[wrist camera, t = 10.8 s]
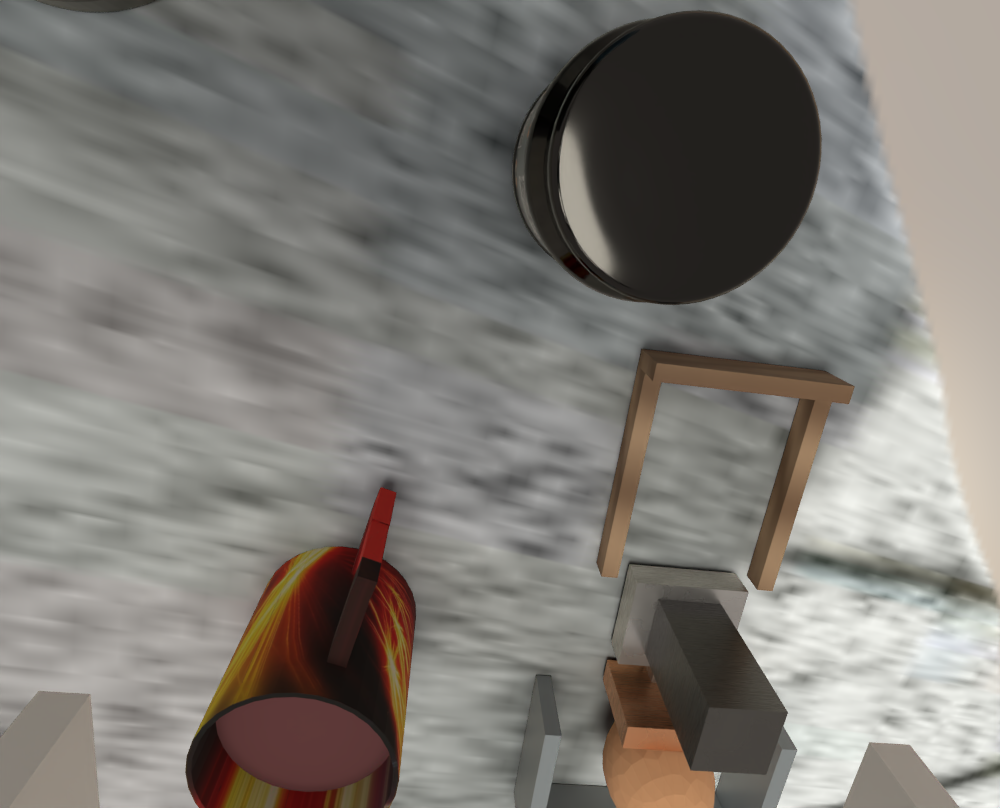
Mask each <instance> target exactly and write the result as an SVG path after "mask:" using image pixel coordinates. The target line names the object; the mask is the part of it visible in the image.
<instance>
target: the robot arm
mask: <svg viewBox="0 0 1000 808" xmlns="http://www.w3.org/2000/svg"><path fill="white" fill-rule="evenodd" d="M36 1H39V2H42V3H44V4H48V5H51V6H55V7H58V8H63V9H68V10H73V11H82V12H114V11H121V10H127V9H131V8H135V7H139V6H142V5H145V4H148V3H150V2H152V1H155V0H36ZM0 808H100V807H99V794H98V782H97V770H96V758H95V745H94V733H93V721H92V708H91V696H90V694H79V693H62V692H46V691H38V693H37V694H36V695H35V696H34V697H33V699H32V700H31V701H30V702H29V703H28V705H27V706H26V707H25V708H24V710H23V711H22V712H21V713H20V714H19V716H18V717H17V718H16V719H15V720H14V722H13V723H12V724H11V725H10V727H9V728H8V729H7V730H6V731H5V733H4V734H3V735H2V736H1V737H0ZM843 808H959V806H958V805H957V804H956V803H955V801H954V800H953V799H952V798H951V796H950V795H949V794H948V792H947V791H946V790H945V789H944V787H943V786H942V785H941V784H940V782H939V781H938V780H937V779H936V777H935V776H934V775H933V774H932V772H931V771H930V770H929V769H928V767H927V766H926V765H925V764H924V762H923V761H922V760H921V759H920V757H919V756H918V755H917V754H916V752H915V751H914V750H913V748H912V747H911V746H910V745H903V744H887V743H871V742H869V745H868V747H867V750H866V752H865V755H864V757H863V760H862V762H861V765H860V767H859V770H858V772H857V775H856V777H855V779H854V782H853V784H852V787H851V789H850V792H849V794H848V797H847V799H846V802H845V804H844V807H843Z"/></svg>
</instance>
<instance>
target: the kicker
mask: <svg viewBox="0 0 1000 808" xmlns="http://www.w3.org/2000/svg"><path fill="white" fill-rule="evenodd" d="M747 595H748V591H747V589H746V588H745V586H744V585H743V584H742V582H741V581H740V579H739V578H738V576H737V575H736V574H735V573H725V572H713V571H702V570H690V569H679V568H667V567H656V566H644V565H633V564H629V568H628V572H627V577H626V581H625V585H624V590H623V594H622V598H621V603H620V607H619V611H618V616H617V620H616V625H615V629H614V633H613V638H612V642H611V643H612V646H613V649H614V652H615V655H616V658H617V661H615V660H607V664H606V668H605V673H604V677H603V681H604V685H605V688H606V692H607V695H608V699H609V702H610V706H611V709H612V713H613V716H614V720H615V723H616V727H617V730H618V734H619V737H620V741H621V744H622V748H631V749H648V750H665V751H682V752H684V755H685V758H686V760H687V763H688V765H689V768H690V770H691V771H708V772H726V773H744V774H762V775H766V774H767V771H768V768H769V765H770V762H771V760H772V757H773V754H774V751H775V748H776V745H777V742H778V739H779V737H780V734H781V731H782V728H783V725H784V722H785V719H786V716H787V714H788V712H787V710H786V709H785V707H784V706H783V704H782V702H781V701H780V699H779V697H778V696H777V694H776V693H775V691H774V689H773V688H772V686H771V684H770V683H769V681H768V679H767V678H766V676H765V675H764V673H763V671H762V670H761V668H760V666H759V665H758V663H757V662H756V660H755V658H754V657H753V655H752V653H751V652H750V650H749V649H748V647H747V645H746V644H745V642H744V640H743V639H742V637H741V636H740V634H739V632H738V631H737V629H738V625H739V622H740V619H741V615H742V612H743V609H744V605H745V602H746V599H747Z"/></svg>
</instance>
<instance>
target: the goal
mask: <svg viewBox="0 0 1000 808" xmlns="http://www.w3.org/2000/svg"><path fill="white" fill-rule="evenodd" d="M560 741H561V730H560V725H559V719H558V714H557V708H556V703H555V697H554V692H553V686H552V681H551V676H543V675H536V678H535V683H534V689H533V694H532V699H531V704H530V710H529V715H528V720H527V726H526V731H525V736H524V742H523V747H522V752H521V758H520V763H519V768H518V773H517V779H516V784H515V789H514V798H515V808H616V806H615V804H614V802H613V800H612V798H611V796H610V793H609V790H608V787H605V786H586V785H567V784H552V779H553V774H554V769H555V765H556V760H557V755H558V751H559V746H560ZM796 752H797V749H796V747H795V745H794V744H793V742H792V740H791V739H790V737H789V735H788V734H787V732H786V730H785V729H784V727H783V728H782V731H781V734H780V737H779V739H778V742H777V745H776V748H775V751H774V754H773V757H772V760H771V762H770V765H769V768H768V771H767V774H766V775H762V774H744V773H726V772H722V774H721V777H720V780H719V783H718V787H717V790H716V792H715V798H714V807H713V808H777V805H778V802H779V799H780V796H781V794H782V791H783V788H784V785H785V783H786V780H787V777H788V774H789V772H790V769H791V766H792V763H793V761H794V758H795V755H796Z"/></svg>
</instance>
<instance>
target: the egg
mask: <svg viewBox="0 0 1000 808" xmlns="http://www.w3.org/2000/svg"><path fill="white" fill-rule="evenodd" d="M603 771H604V776H605V779H606V783H607V787H608V790H609V793H610V796H611V798H612V800H613V802H614V804H615V806H616V808H713V807H714V798H715V779H714V773H713V772H708V771H691V770H690V768H689V765H688V763H687V760H686V758H685V755H684V752H682V751H665V750H648V749H631V748H622V744H621V741H620V737H619V734H618V730H617V727H616V723H615V721H614V723H613V725H612V727H611V728H610V730H609V732H608V734H607V737H606V741H605V745H604V750H603Z"/></svg>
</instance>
